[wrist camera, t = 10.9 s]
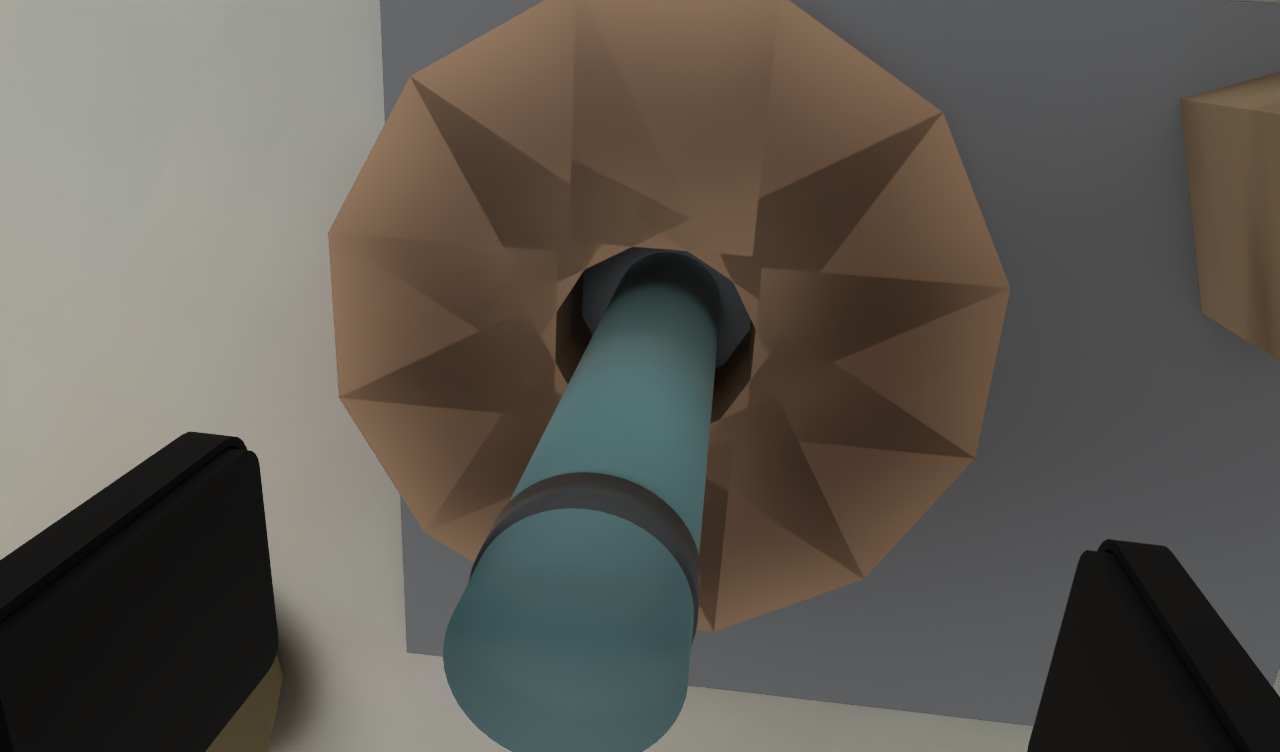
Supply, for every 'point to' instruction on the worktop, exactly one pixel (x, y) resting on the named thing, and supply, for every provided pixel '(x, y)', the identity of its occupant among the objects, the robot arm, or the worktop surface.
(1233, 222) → the cube bead
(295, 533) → the worktop surface
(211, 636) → the robot arm
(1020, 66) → the felt mat
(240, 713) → the squeeze bottle
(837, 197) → the faceted wooden ring
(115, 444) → the worktop surface
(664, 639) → the teal marker pen
